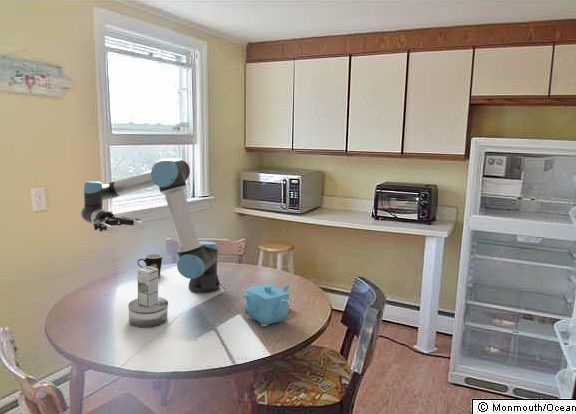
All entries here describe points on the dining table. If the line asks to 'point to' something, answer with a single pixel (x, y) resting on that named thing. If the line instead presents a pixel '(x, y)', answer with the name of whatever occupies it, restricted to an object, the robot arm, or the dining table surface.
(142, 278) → the syrup box
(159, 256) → the coffee mug
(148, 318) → the cookie tin
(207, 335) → the dining table surface
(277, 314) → the teakettle
